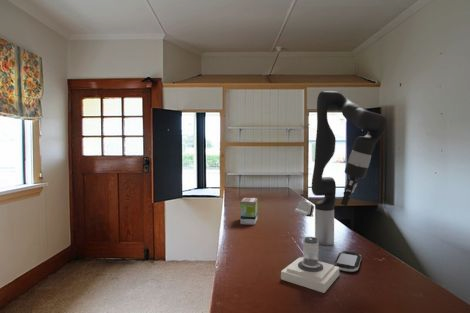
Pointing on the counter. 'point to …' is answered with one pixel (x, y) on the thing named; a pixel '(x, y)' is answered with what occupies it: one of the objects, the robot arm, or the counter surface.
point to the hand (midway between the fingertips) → (345, 202)
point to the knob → (310, 253)
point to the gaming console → (348, 261)
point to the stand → (311, 275)
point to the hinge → (305, 208)
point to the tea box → (248, 211)
